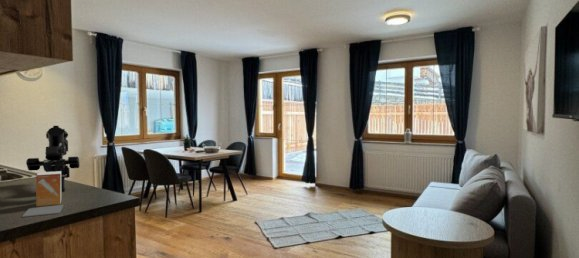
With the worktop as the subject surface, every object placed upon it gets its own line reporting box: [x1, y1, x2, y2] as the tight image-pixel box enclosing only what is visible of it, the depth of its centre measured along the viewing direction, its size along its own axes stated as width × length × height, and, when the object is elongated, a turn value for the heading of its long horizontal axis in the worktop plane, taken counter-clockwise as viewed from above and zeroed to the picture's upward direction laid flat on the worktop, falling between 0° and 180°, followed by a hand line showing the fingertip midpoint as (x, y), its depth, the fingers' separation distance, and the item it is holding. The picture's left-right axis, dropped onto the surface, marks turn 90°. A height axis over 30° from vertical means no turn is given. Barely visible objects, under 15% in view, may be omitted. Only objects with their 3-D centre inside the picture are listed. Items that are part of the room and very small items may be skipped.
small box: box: [35, 171, 62, 207], centre depth 132 cm, size 8×6×13 cm
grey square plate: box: [21, 204, 65, 218], centre depth 122 cm, size 11×11×1 cm
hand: (51, 178), depth 137 cm, fingers closed
